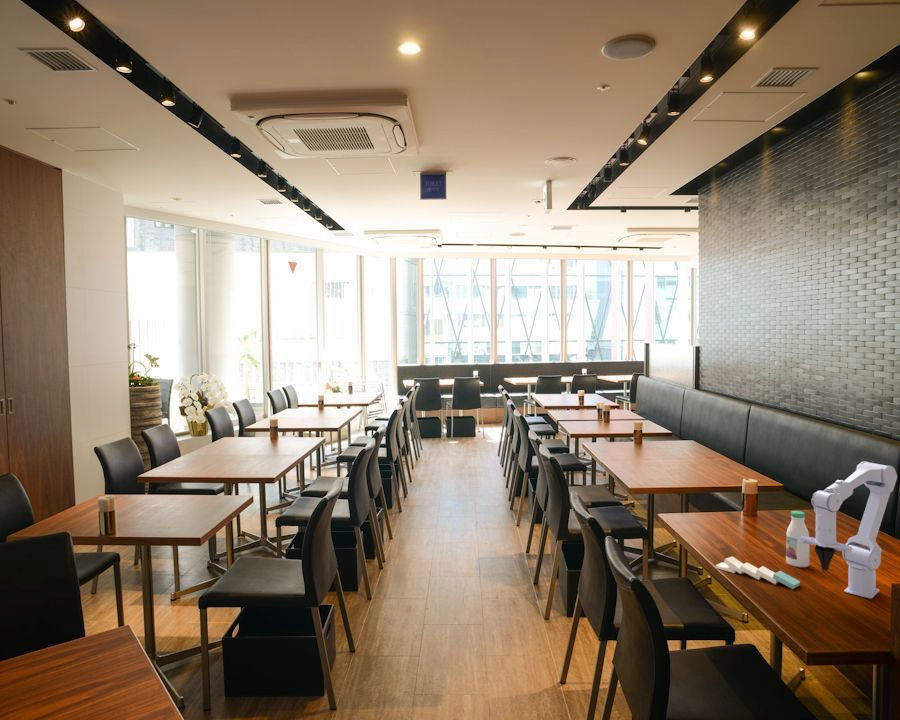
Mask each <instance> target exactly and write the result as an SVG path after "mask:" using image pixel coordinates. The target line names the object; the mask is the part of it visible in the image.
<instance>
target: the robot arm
mask: <svg viewBox="0 0 900 720" xmlns="http://www.w3.org/2000/svg"><path fill="white" fill-rule="evenodd" d="M896 471H897V470H896V469H895V467H894V466H892V465H886V464H885V465H884V464H881V463H880V464H879V463H874V462H870V461H866V460H863V461H861V462H860V463H859V464H857V465H856V468H855V471H853V472H852V474H850V475H849V476H848V477H847V478H845V479H844V480H843V479H840V480H839V479H837V480H835V482H834V483H832V484H830V485H829V486H828V487H826V488H825V489H824V490H820V489H819V490H817V491H815V492H814V493H813V494H812V498H811V499H810V500H811V501H810V502H811V505H812V506H813V512H814V513H815V537H810V536H809V537H805V536H802V537H800V543H803V544H804V543H806V544H809V545H811V546H815V547H814V552H815V553H816V555H817V557H818V559H819V563H820V565H821V570H822V571H825V572H827V571H829V569H830V565H831V561H832V559H833V557H834V555H835V553H836V552H837V551H839V552H842V553H841V554H842V558H843V560H845V561H846V562H845V563H846V564H847V565H848V569H847V571H848V580H847V581H848V582H847V583H848V586H847V587H846V588H845V589H844V591H843V592H844V593H847V594H851V595H854V596H860V597H862V598H867V599H871V600H872V599H873V598H874V597H875V596H876V595H877V594H878V593H879V592H880V589H878V588H877V587H876V586H877V584H876V583H877V572H876V570H877V569H878V568H879V566H880V565H881V562H882V551H883V550H882V549H883V548H881V547H880V546H879V543H877V541H876V540H877V536H878V533H879V530H880V527H881V523H882V521H883V518H884V515H885V511H886V508H887V506H888V505H887V504H888V502H889V499H890V495H891V493H892V492H893V491H894V488H895V485H896V482H897V479H898V475H897V472H896ZM861 485H864V486H865V487H866V488H868V489H869V491H870V493H869V496H868V499H867V502H866V506H865V508H864V509H865V510H864V512H863V515H862V518H861V522H860V524H859V527H858V532H857V534H856V535H854V536H851V537H849V538H848V539H847V542H846V543H840V542H838V541H837V511H839V509H840V508H841V505H842V504H843V502H844V501H845V500H846V499H848V498H849V497H851V496H852V495H853V493H854V489H857V488H858V487H859V486H861Z"/></svg>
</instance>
